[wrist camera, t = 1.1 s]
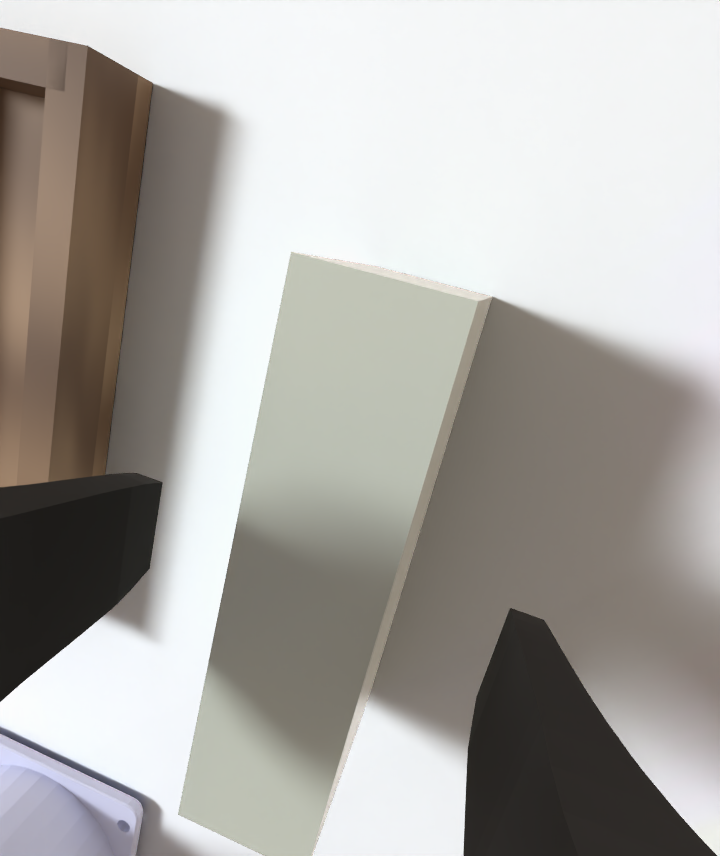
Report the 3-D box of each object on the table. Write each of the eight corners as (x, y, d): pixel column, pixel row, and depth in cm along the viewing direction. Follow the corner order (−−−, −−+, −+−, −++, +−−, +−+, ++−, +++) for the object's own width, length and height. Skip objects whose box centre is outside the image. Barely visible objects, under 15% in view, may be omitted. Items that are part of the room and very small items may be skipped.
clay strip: (372, 686, 18) (305, 875, 12) (283, 650, 18) (178, 814, 12) (492, 296, 14) (478, 301, 8) (377, 266, 15) (291, 252, 9)
